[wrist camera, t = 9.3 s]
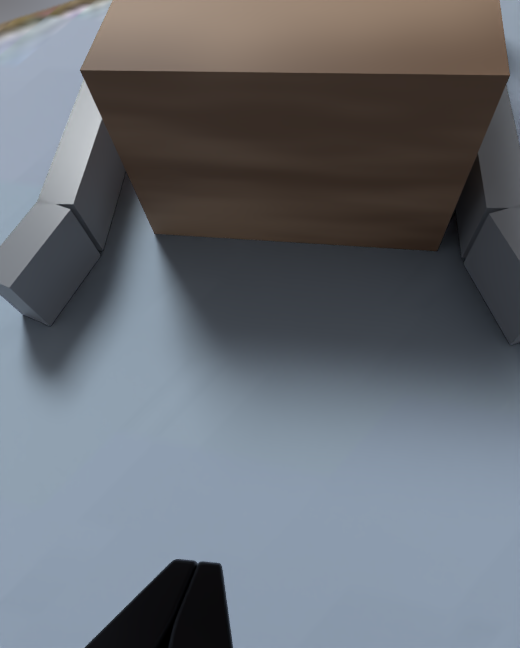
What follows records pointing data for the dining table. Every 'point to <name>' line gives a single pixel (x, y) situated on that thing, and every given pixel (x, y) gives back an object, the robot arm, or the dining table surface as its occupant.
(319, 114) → the walnut box
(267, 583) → the dining table surface
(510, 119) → the box pocket
